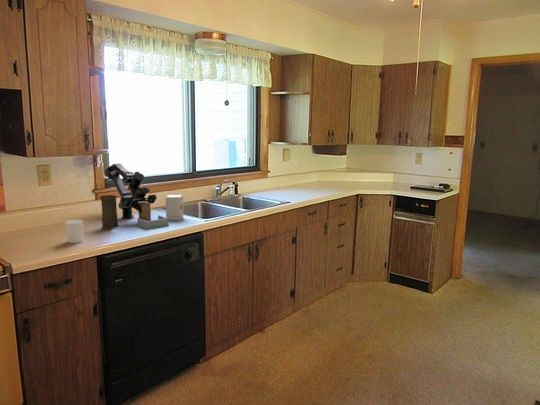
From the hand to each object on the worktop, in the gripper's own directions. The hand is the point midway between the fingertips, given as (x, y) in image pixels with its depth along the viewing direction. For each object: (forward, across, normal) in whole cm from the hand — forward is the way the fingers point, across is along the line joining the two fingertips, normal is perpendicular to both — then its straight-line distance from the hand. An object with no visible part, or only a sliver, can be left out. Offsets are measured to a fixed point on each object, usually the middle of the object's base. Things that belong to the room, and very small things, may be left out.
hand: (145, 211), depth 235 cm
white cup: (+12, -43, -2) cm, 45 cm away
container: (+1, -19, +10) cm, 21 cm away
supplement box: (+6, +19, +5) cm, 20 cm away
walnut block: (+3, 0, +5) cm, 6 cm away
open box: (+12, 0, -1) cm, 12 cm away
